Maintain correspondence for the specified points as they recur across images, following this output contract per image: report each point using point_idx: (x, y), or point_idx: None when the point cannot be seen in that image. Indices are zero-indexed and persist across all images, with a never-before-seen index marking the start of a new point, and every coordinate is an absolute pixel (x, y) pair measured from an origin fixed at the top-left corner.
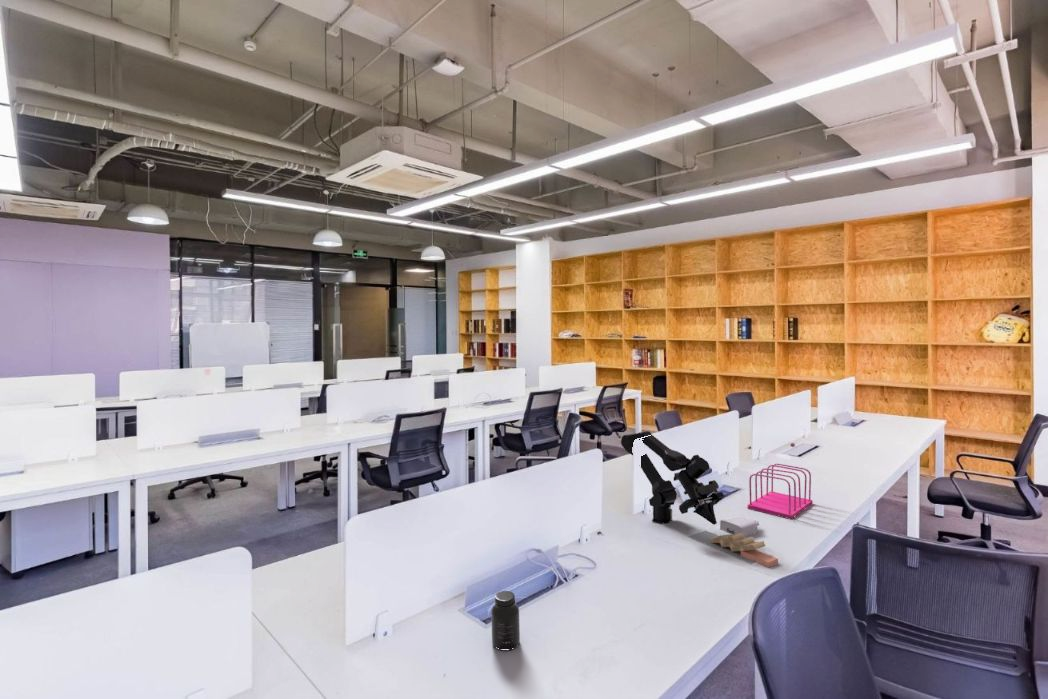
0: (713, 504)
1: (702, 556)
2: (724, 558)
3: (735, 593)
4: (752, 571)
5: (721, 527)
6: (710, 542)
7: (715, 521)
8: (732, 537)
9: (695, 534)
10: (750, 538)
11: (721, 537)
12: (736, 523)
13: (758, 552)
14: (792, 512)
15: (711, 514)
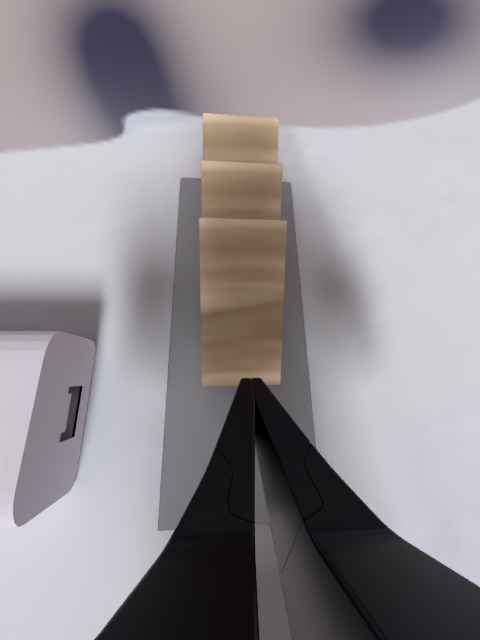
0: (139, 599)
1: (387, 319)
2: (324, 265)
3: (449, 135)
4: (315, 168)
5: (59, 488)
6: (271, 385)
7: (251, 384)
8: (285, 227)
9: (259, 515)
10: (224, 162)
11: (283, 305)
12: (8, 390)
13: None
14: None
15: (273, 441)
